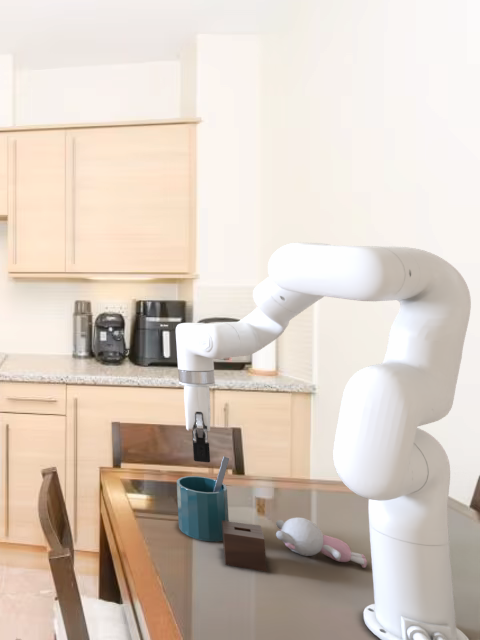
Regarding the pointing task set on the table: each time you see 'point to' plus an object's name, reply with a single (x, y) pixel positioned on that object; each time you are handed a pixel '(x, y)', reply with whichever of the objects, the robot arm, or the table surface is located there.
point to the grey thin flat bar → (221, 474)
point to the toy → (314, 541)
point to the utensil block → (244, 545)
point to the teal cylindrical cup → (201, 508)
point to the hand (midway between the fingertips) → (201, 454)
